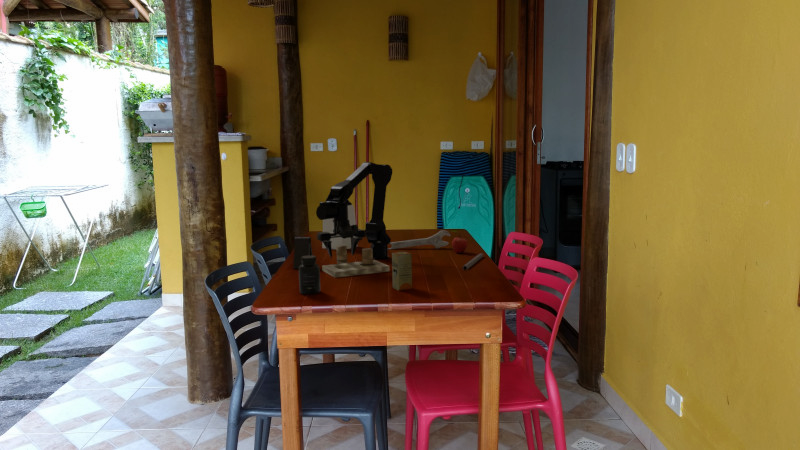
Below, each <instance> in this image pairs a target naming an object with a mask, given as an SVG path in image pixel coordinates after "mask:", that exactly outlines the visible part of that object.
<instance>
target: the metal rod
mask: <svg viewBox="0 0 800 450" xmlns="http://www.w3.org/2000/svg"><path fill="white" fill-rule="evenodd" d="M483 257H484V254H483V253H478V254H476V256H474V257H473V258H472V259H471V260H469V261H468V262H467V263H466V264H464V265H463V266H462V270H463V271H464V270H465V271H468V270H469V269H470V268H471V267H472V266H474V265H475V264H476V263H477V262H479V261H480V260H482V258H483Z"/></svg>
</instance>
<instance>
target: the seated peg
mask: <svg viewBox="0 0 800 450" xmlns="http://www.w3.org/2000/svg"><path fill="white" fill-rule="evenodd" d="M361 254H362V255H361V256H362V257H361V258H362V259H361V261H362V266H373V260H374V259H373V249H371V248H370V247H368V248H367V247H366V248H362V249H361Z"/></svg>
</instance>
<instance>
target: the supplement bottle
mask: <svg viewBox="0 0 800 450" xmlns="http://www.w3.org/2000/svg"><path fill="white" fill-rule="evenodd" d="M301 263H302V265H300V266H299V269H298V280H299V281H298V282H299V283H298V284H299V285H298V286H299V293H300V294H302V295H309V296H310V295H316V294H319V293H320V292H321V269H320V265H319V264H318V263H317V256H316V255H313V256H303V257H301Z"/></svg>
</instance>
